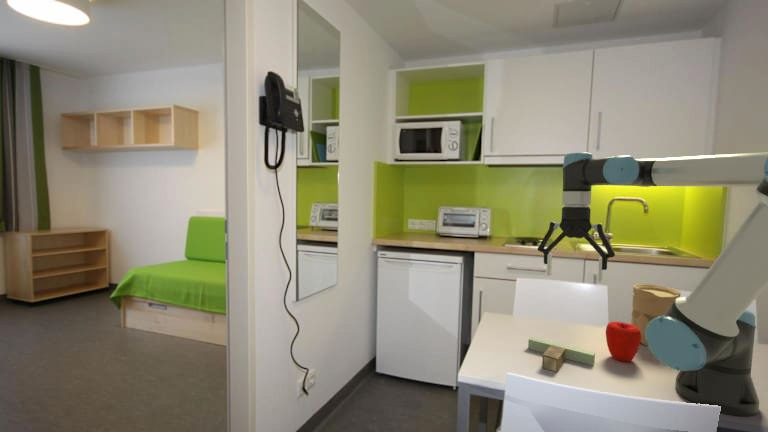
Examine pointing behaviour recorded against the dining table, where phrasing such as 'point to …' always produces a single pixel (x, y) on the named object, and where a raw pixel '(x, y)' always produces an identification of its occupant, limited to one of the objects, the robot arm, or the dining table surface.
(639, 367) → the dining table surface
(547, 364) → the walnut block
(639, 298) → the container
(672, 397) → the dining table surface
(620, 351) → the apple
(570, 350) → the rail
